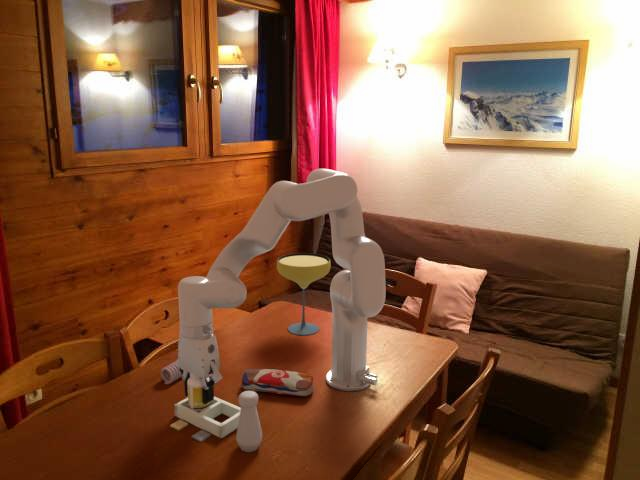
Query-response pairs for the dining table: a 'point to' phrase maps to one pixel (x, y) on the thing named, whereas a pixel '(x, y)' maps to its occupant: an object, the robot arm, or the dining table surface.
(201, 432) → the slate tag
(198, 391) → the supplement bottle
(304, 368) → the dining table surface
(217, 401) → the socket block
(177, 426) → the brass tag
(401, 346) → the dining table surface
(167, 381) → the coil
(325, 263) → the cocktail glass
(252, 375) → the pencil case
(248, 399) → the salt shaker
